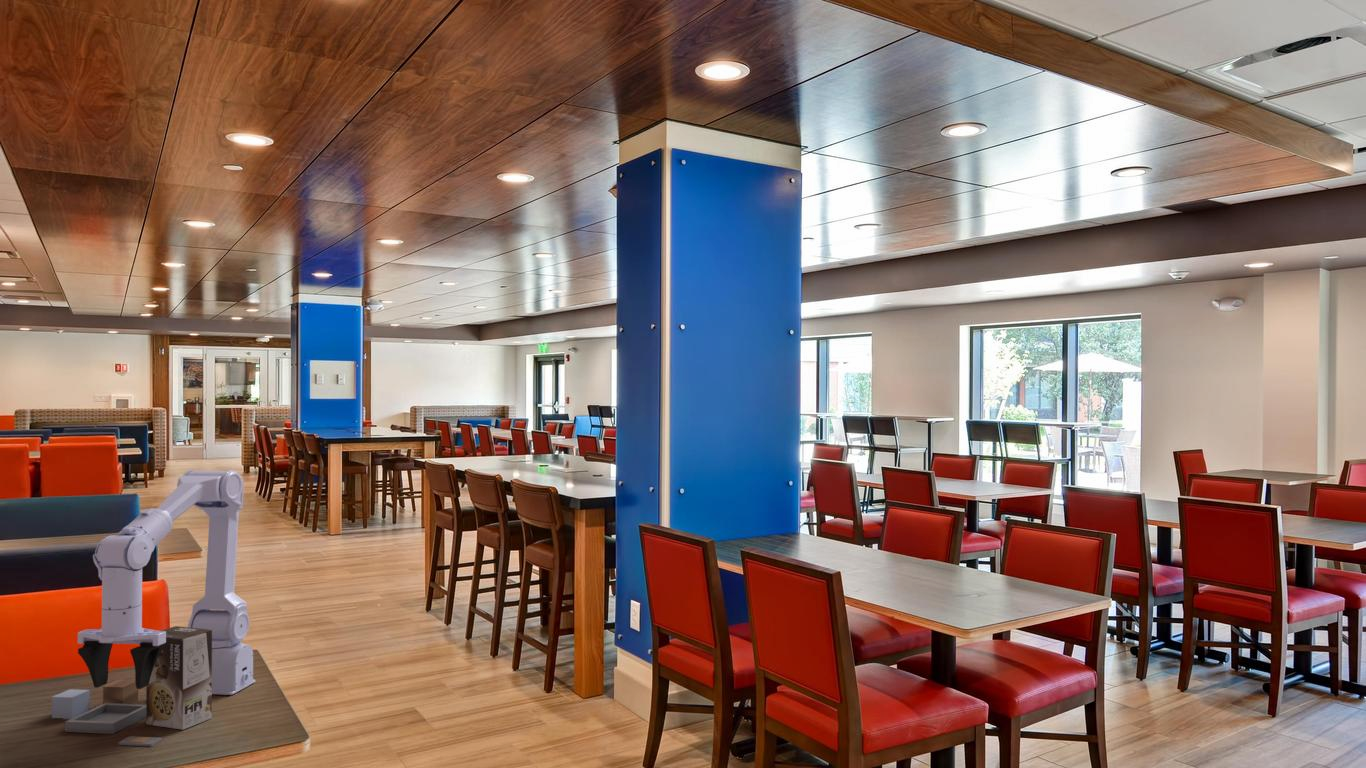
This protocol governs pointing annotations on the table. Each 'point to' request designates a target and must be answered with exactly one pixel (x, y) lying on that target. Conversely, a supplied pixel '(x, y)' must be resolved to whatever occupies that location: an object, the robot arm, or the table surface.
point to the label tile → (140, 741)
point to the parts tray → (106, 718)
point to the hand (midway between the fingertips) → (121, 686)
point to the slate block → (70, 703)
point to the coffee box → (181, 680)
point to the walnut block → (120, 692)
